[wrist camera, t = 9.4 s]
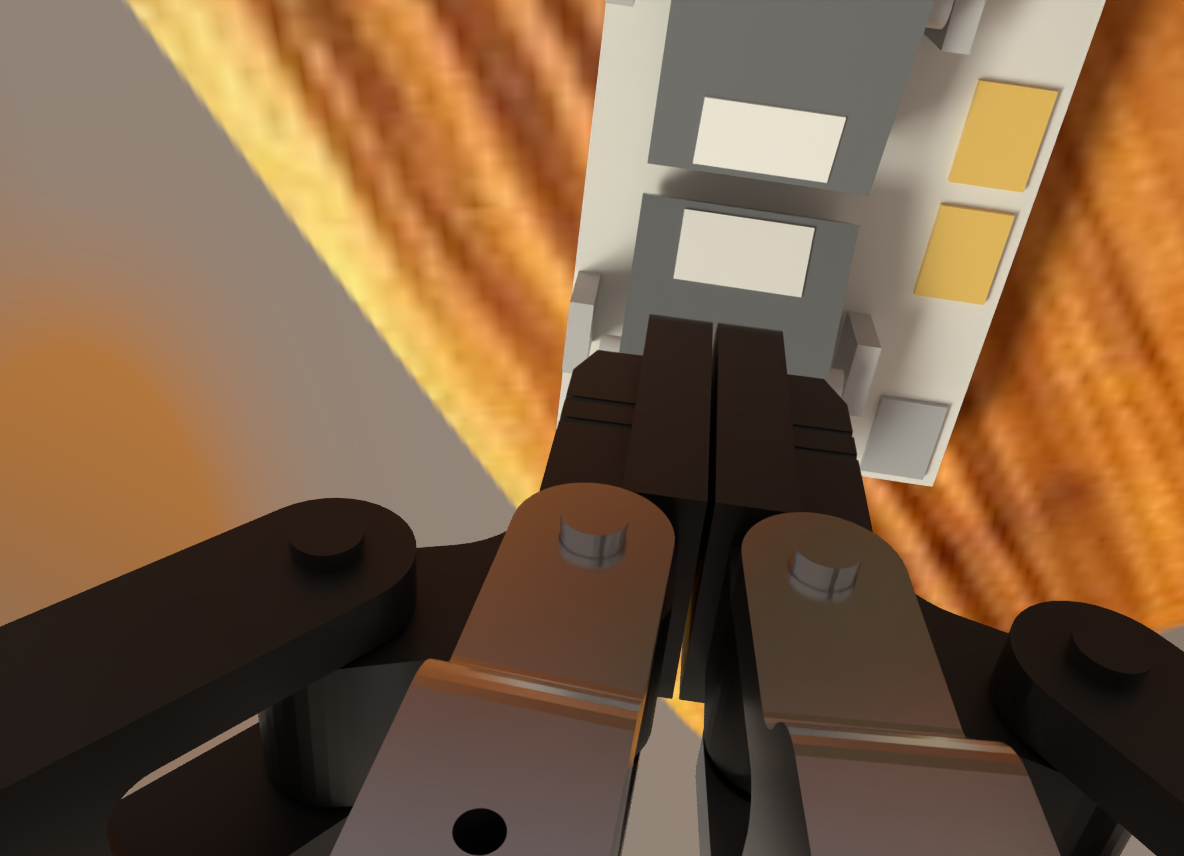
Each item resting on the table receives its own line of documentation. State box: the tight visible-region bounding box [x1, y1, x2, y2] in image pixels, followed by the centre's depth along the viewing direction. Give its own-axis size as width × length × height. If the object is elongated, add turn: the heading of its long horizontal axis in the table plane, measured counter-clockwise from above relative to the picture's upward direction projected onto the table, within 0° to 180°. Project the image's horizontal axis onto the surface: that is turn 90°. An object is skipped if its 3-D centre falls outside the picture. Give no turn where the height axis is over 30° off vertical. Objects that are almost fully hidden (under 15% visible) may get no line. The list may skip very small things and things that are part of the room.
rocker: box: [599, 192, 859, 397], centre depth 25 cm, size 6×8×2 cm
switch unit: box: [556, 0, 1106, 487], centre depth 26 cm, size 11×17×5 cm, turn 173°
